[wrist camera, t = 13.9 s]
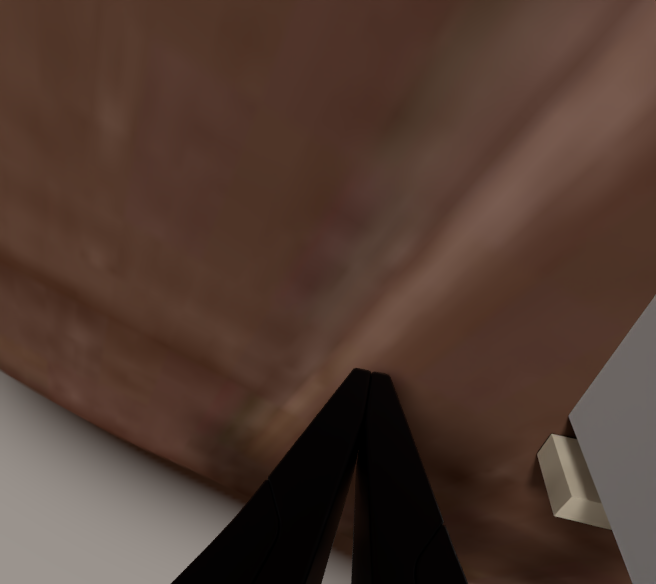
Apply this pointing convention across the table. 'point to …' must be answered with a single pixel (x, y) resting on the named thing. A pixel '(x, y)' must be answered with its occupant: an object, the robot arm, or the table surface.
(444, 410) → the table surface
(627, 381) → the plug block
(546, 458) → the guide rails
